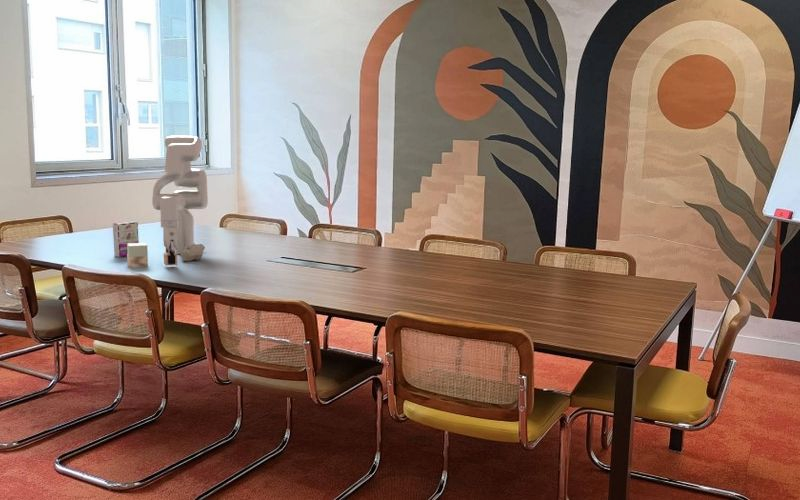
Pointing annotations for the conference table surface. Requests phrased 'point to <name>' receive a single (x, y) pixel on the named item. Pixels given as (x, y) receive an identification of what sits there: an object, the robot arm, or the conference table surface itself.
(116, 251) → the candy bar box
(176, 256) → the terracotta cube
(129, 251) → the tower top
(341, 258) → the conference table surface
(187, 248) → the fossil replica
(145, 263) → the tower bottom
